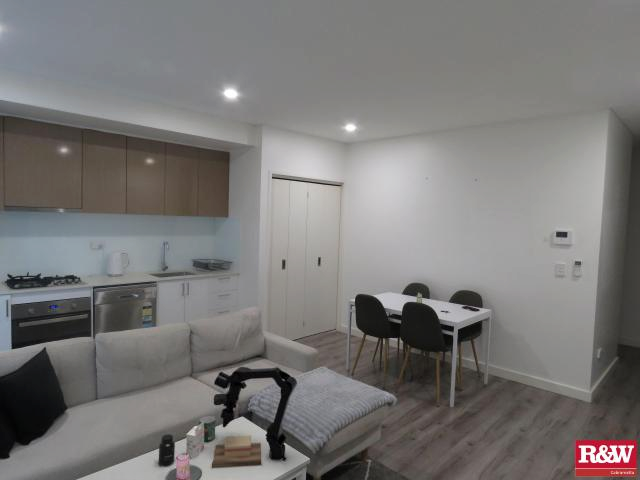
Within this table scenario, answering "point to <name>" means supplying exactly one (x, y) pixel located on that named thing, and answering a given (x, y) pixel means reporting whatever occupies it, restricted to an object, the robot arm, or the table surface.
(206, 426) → the canned tomato
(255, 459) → the display board
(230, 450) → the kraft carton
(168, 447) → the supplement bottle
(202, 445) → the ink cartridge box
